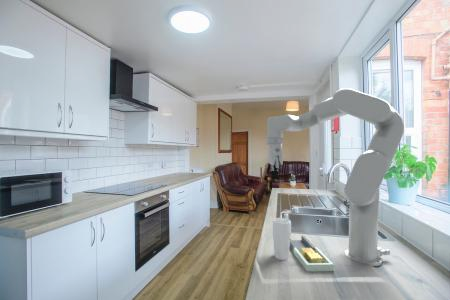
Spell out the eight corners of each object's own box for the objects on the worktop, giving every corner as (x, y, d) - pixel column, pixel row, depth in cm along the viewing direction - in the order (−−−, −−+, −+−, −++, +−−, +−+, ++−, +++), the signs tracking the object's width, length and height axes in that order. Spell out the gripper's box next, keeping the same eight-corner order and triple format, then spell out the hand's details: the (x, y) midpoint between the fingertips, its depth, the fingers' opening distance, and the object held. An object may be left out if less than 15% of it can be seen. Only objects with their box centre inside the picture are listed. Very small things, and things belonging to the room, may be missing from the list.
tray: (316, 255, 90) (317, 247, 89) (334, 274, 77) (334, 264, 77) (293, 256, 89) (293, 247, 89) (306, 274, 76) (306, 264, 76)
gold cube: (310, 258, 87) (311, 247, 87) (315, 263, 83) (315, 252, 83) (300, 258, 87) (300, 247, 87) (304, 263, 83) (304, 252, 83)
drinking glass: (291, 264, 82) (291, 224, 82) (272, 262, 84) (272, 222, 84) (289, 256, 89) (290, 218, 89) (272, 254, 90) (272, 217, 90)
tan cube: (317, 263, 83) (317, 252, 83) (322, 269, 79) (322, 258, 79) (306, 263, 83) (306, 252, 83) (310, 269, 79) (310, 258, 79)
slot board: (304, 242, 102) (304, 235, 101) (315, 255, 90) (315, 247, 89) (285, 243, 101) (285, 235, 101) (294, 256, 89) (294, 248, 89)
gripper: (287, 141, 105) (286, 181, 105) (278, 142, 119) (277, 176, 120) (271, 141, 104) (270, 181, 105) (264, 142, 119) (263, 176, 119)
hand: (274, 178), depth 112 cm, fingers closed
